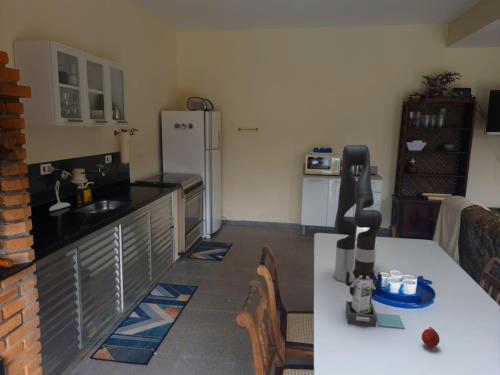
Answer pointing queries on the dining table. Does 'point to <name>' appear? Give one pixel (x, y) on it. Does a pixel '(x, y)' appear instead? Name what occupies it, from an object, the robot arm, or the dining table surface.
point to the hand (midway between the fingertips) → (361, 295)
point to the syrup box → (362, 296)
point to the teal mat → (389, 321)
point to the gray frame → (360, 316)
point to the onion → (430, 337)
